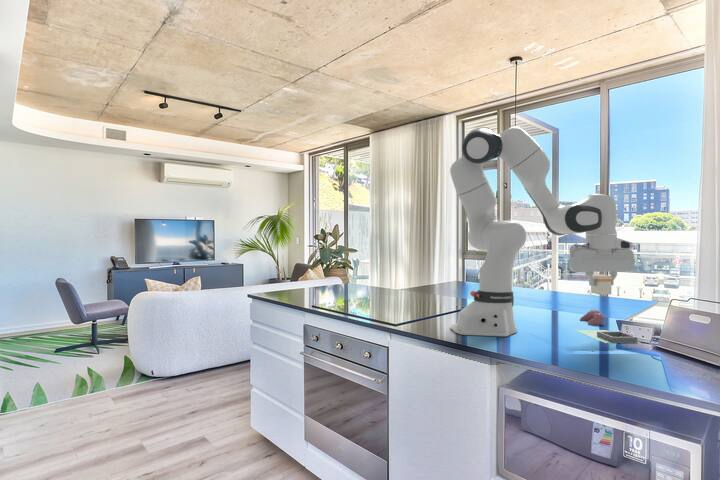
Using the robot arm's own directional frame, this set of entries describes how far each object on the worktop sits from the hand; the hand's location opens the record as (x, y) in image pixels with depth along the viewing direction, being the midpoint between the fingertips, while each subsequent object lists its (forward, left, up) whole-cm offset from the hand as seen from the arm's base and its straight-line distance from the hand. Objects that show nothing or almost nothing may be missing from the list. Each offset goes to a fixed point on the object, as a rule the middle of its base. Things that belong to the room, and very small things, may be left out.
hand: (601, 285), depth 134 cm
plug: (0, 0, -3) cm, 3 cm away
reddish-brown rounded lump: (+8, +19, -18) cm, 28 cm away
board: (0, -2, -17) cm, 17 cm away
